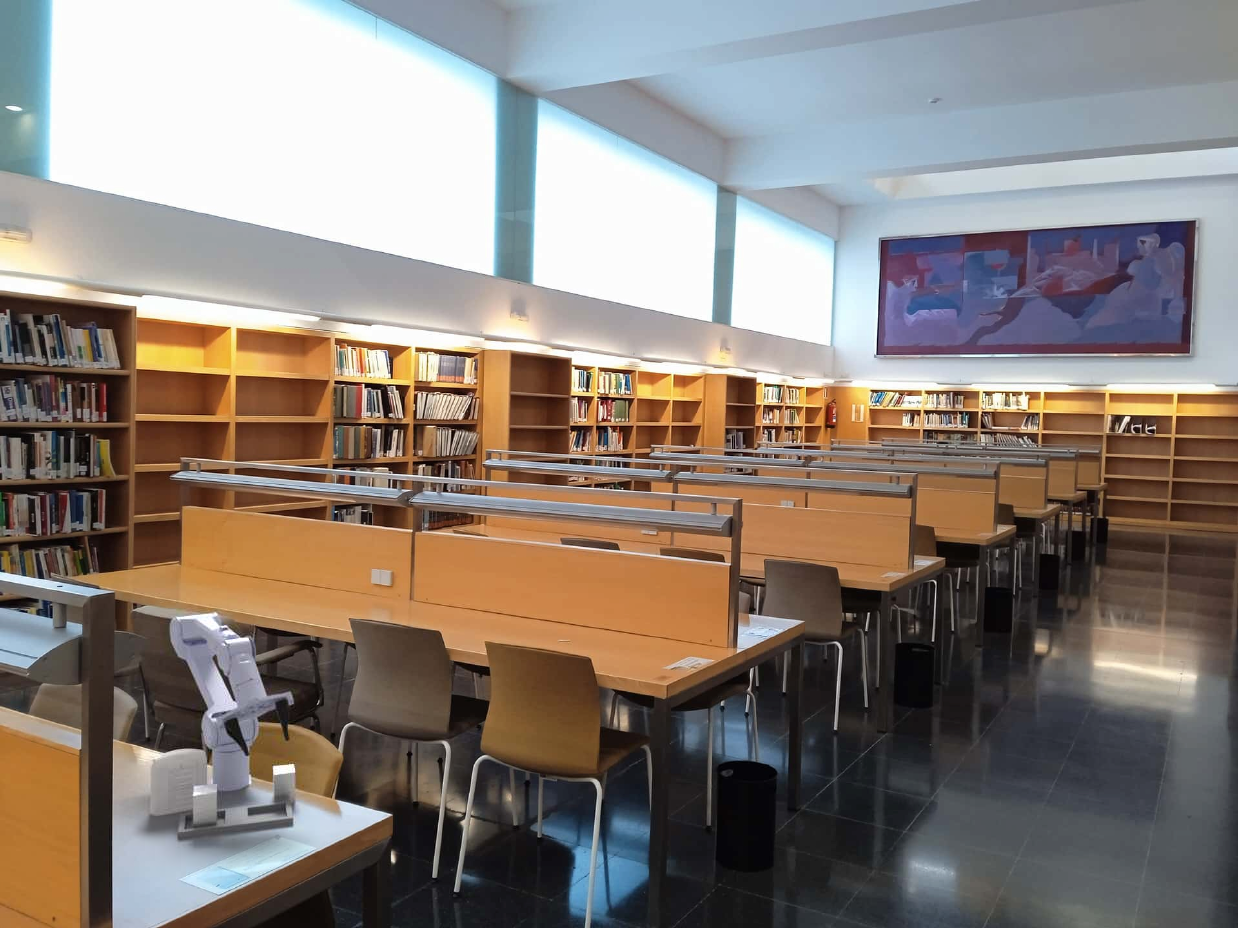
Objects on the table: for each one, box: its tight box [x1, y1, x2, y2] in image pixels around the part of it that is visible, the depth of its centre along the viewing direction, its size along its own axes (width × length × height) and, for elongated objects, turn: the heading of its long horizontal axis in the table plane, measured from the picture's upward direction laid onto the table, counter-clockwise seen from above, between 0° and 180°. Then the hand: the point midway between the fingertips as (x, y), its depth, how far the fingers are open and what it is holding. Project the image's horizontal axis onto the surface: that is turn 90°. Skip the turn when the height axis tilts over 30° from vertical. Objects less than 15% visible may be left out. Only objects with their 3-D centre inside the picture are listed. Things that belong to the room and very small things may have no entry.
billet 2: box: [272, 763, 296, 804], centre depth 197 cm, size 5×4×7 cm
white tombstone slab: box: [149, 748, 208, 817], centre depth 191 cm, size 10×4×12 cm, turn 123°
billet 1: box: [192, 783, 218, 828], centre depth 183 cm, size 5×4×7 cm
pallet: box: [177, 801, 294, 840], centre depth 185 cm, size 9×20×2 cm, turn 112°
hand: (267, 745), depth 189 cm, fingers open, 7 cm apart
